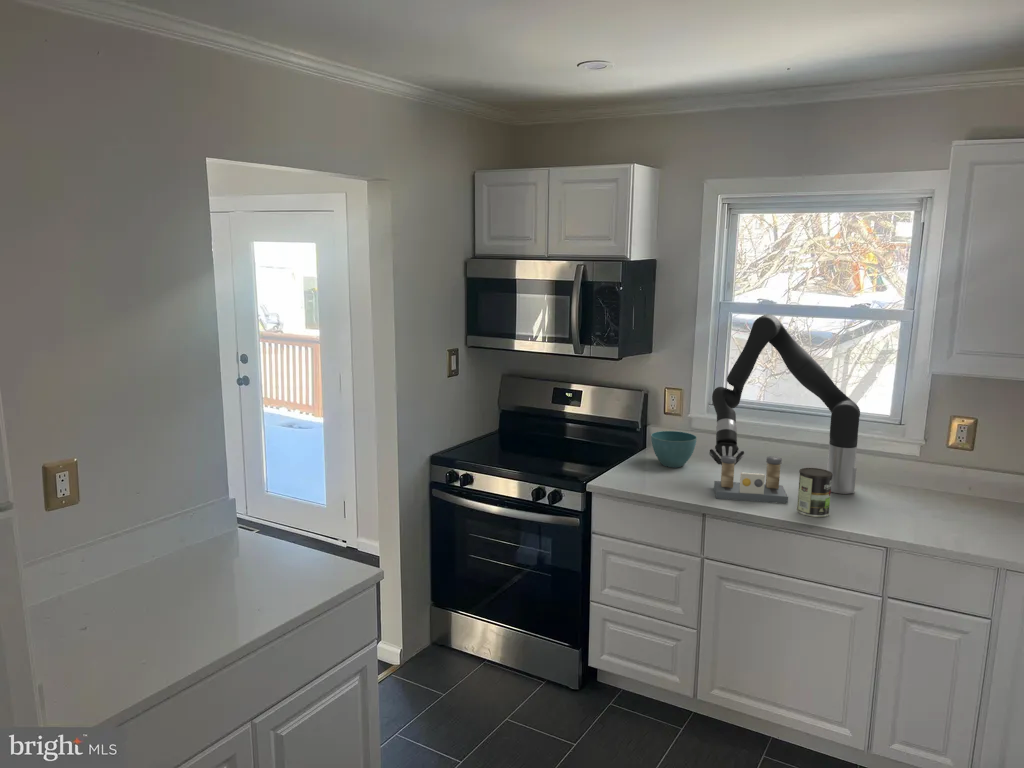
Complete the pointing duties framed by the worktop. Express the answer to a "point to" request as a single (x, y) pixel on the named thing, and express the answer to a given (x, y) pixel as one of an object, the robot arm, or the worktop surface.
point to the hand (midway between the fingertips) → (726, 473)
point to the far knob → (727, 471)
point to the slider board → (751, 490)
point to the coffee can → (814, 492)
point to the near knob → (773, 472)
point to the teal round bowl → (673, 447)
